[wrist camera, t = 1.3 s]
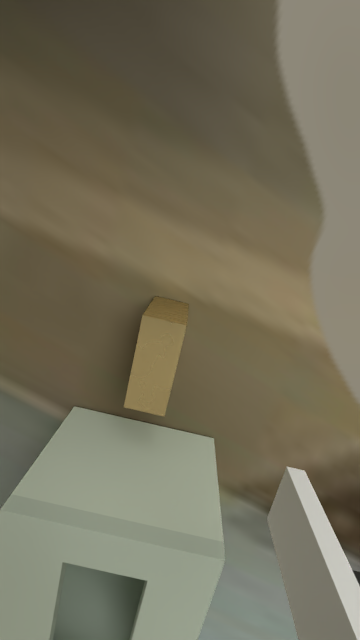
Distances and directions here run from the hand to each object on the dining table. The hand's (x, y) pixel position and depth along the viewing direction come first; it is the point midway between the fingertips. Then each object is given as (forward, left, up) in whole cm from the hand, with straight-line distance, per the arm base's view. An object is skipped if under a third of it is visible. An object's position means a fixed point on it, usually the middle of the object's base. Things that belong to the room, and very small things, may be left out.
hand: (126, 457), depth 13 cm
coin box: (+17, 0, -16) cm, 23 cm away
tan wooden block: (0, 0, -16) cm, 16 cm away
